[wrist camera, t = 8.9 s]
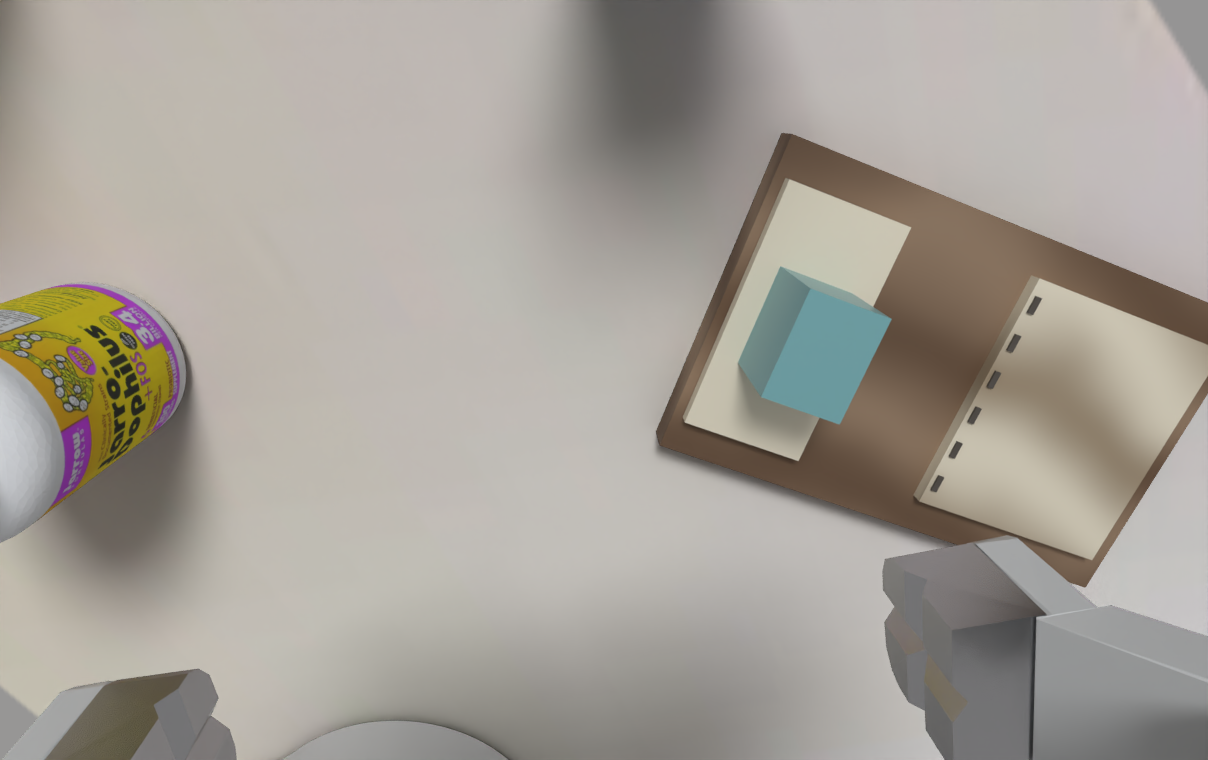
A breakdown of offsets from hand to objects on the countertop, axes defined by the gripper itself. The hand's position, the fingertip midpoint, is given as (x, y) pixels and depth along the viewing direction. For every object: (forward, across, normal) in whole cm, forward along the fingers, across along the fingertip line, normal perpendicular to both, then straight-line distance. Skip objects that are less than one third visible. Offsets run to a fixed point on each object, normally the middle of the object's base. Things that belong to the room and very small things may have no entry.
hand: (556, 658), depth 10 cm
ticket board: (+24, -16, +6) cm, 29 cm away
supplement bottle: (+24, +18, 0) cm, 30 cm away
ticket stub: (+22, -9, +3) cm, 24 cm away
